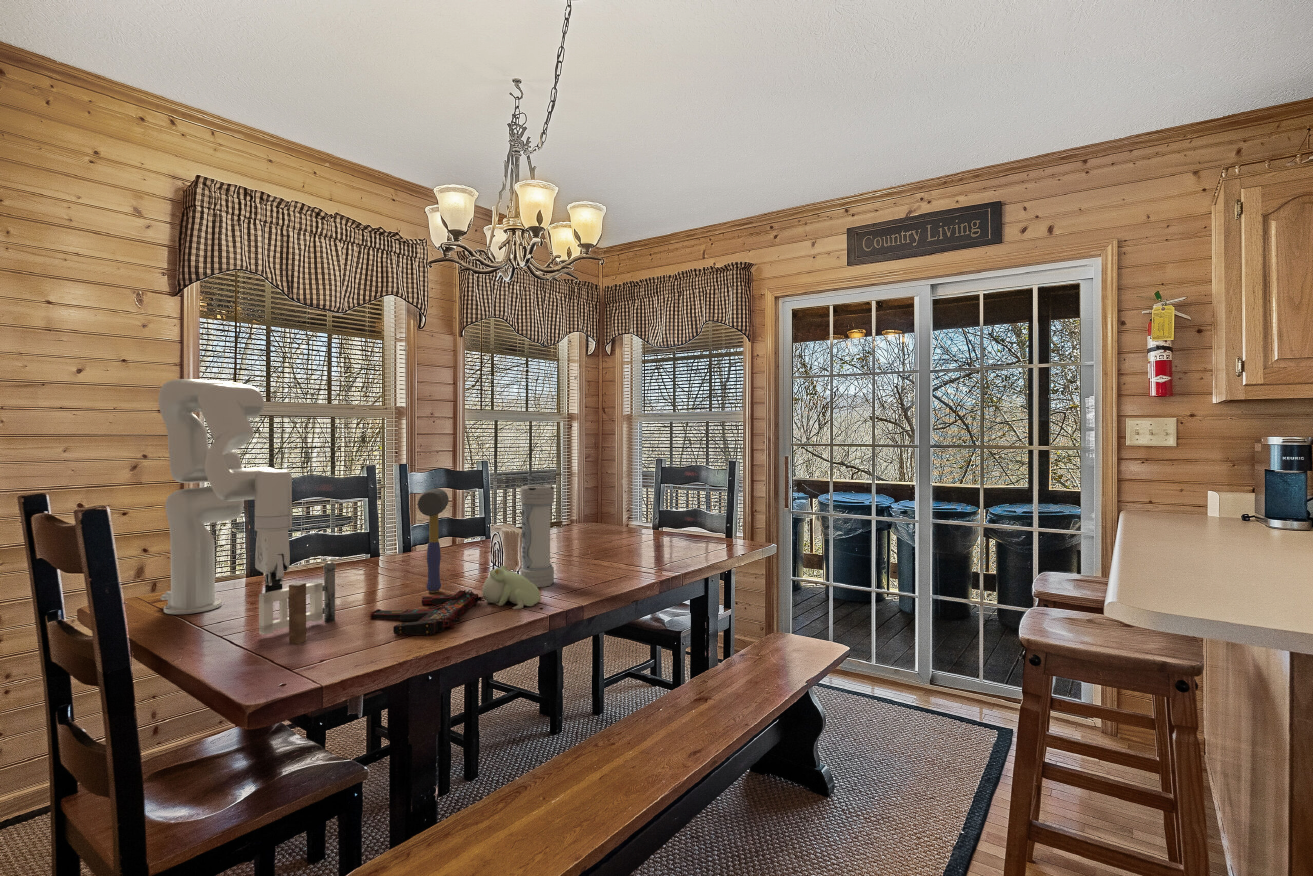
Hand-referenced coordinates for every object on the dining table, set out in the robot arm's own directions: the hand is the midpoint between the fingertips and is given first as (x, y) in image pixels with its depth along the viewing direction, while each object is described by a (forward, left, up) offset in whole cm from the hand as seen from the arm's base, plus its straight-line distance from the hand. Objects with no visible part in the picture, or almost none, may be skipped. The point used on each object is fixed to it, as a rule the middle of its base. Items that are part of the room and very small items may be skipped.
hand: (273, 600), depth 156 cm
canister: (+44, +56, -7) cm, 72 cm away
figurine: (+45, +34, -8) cm, 57 cm away
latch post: (+11, -6, -7) cm, 14 cm away
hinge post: (+7, +10, -7) cm, 14 cm away
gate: (+4, +1, -6) cm, 8 cm away
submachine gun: (+28, +19, -8) cm, 35 cm away
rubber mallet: (+18, +41, -7) cm, 45 cm away
